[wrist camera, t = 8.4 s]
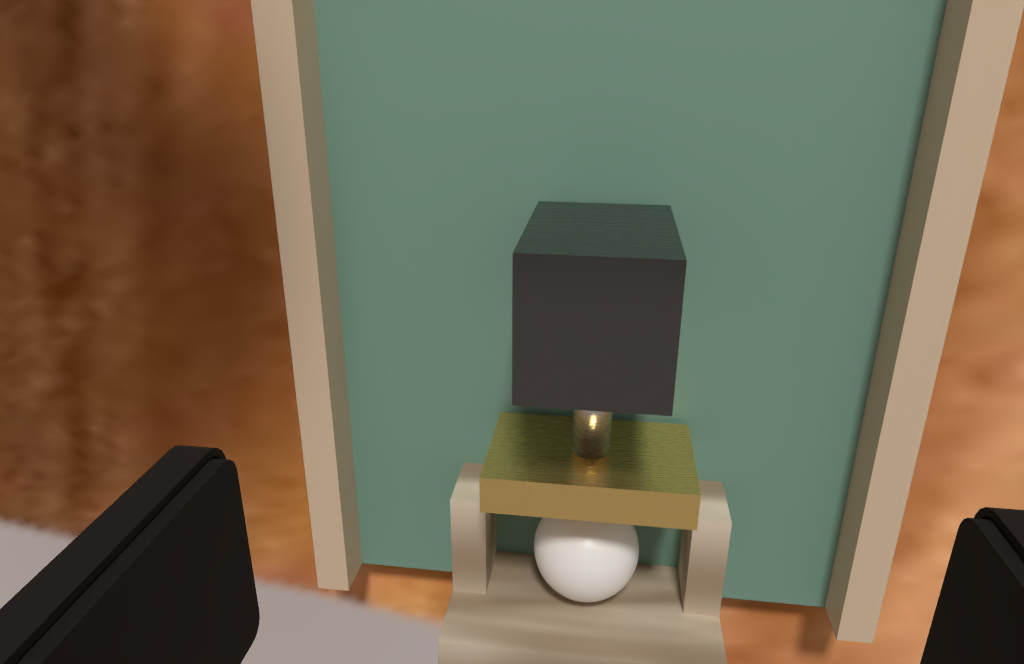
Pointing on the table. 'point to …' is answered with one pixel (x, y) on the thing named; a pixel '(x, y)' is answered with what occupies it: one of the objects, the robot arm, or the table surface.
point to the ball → (586, 557)
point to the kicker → (595, 371)
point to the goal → (582, 625)
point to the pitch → (631, 180)
